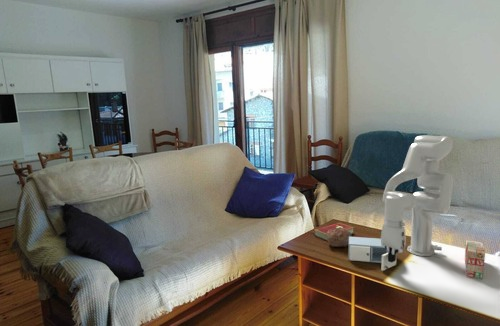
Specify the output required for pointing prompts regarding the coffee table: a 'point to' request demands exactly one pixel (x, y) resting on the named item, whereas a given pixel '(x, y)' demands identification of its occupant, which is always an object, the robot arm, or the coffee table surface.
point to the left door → (387, 262)
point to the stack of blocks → (474, 259)
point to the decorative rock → (338, 237)
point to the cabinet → (366, 249)
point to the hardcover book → (323, 231)
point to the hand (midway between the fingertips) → (391, 261)
